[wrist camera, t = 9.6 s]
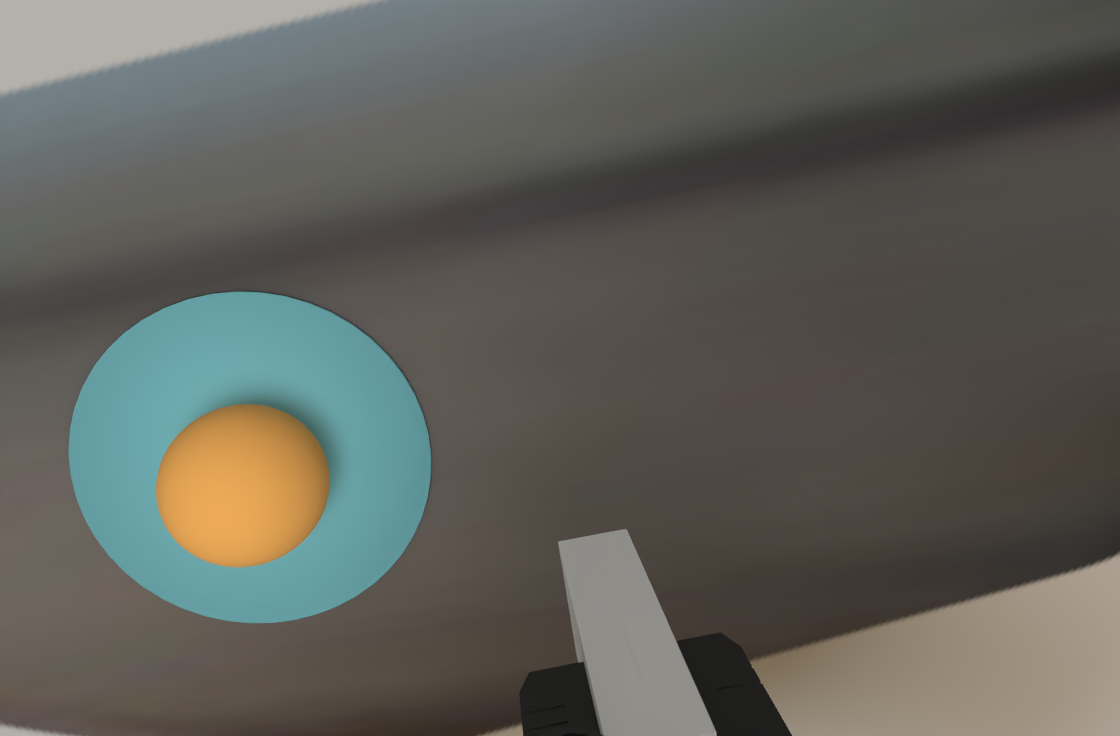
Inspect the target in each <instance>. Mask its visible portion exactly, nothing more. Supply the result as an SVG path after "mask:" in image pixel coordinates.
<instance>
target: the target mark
mask: <svg viewBox="0 0 1120 736" xmlns="http://www.w3.org/2000/svg"><path fill="white" fill-rule="evenodd" d="M238 404H255V405H264V406H269V407H272V408H275V409H278V410H281V411H284V412H285V413H287V414H289V415H291V416H293V417H294V418H296V419H297V420H299V421H300V422H301V423H303V424H304V425H305V426H306V427H307V428H308V429H309V430H310V431H311V432H312V433H313V435H314V436H315V437H316V439H317V440H318V442H319V443H320V445H321V447H322V449H323V451H324V454H325V456H326V459H327V463H328V468H329V476H330V488H329V495H328V499H327V504H326V507H325V509H324V512H323V514H322V516H321V518H320V520H319V522H318V523H317V525H316V527H315V528H314V530H313V531H312V532H311V533H310V534H309V536H308V537H307V538H306V539H305V540H304V541H303V542H302V543H301V544H300V545H298V546H297V547H296V548H295V549H293V550H292V551H290V552H289V553H287V554H286V555H284V556H282V557H280V558H278V559H276V560H273V561H270V562H268V563H265V564H261V565H256V566H250V567H226V566H221V565H216V564H212V563H209V562H207V561H204V560H202V559H200V558H197V557H196V556H194V555H192V554H191V553H189V552H188V551H186V550H185V549H184V548H183V547H182V546H180V545H179V544H178V543H177V542H176V541H175V539H174V538H173V537H172V536H171V534H170V533H169V532H168V530H167V528H166V527H165V525H164V523H163V520H162V518H161V516H160V513H159V510H158V506H157V500H156V481H157V475H158V471H159V467H160V464H161V461H162V459H163V457H164V455H165V453H166V451H167V449H168V447H169V446H170V444H171V443H172V442H173V440H174V439H175V438H176V436H177V435H178V434H179V433H180V432H181V431H182V430H183V429H184V428H185V427H186V426H188V425H189V424H190V423H192V422H193V421H194V420H196V419H197V418H199V417H201V416H203V415H205V414H207V413H209V412H211V411H213V410H216V409H219V408H222V407H227V406H232V405H238ZM69 462H70V473H71V478H72V483H73V487H74V491H75V495H76V498H77V501H78V503H79V506H80V508H81V511H82V513H83V516H84V518H85V520H86V522H87V524H88V525H89V527H90V529H91V531H92V533H93V534H94V536H95V538H96V539H97V540H98V542H99V543H100V544H101V546H102V547H103V548H104V550H105V551H106V552H107V554H108V555H109V556H110V557H111V558H112V559H113V560H114V561H115V562H116V564H117V565H118V566H119V567H120V568H121V569H122V570H123V571H124V572H125V573H127V574H128V575H129V576H130V577H132V578H133V579H134V580H135V581H136V582H138V583H139V584H140V585H141V586H143V587H144V588H146V589H147V590H149V591H151V592H152V593H154V594H155V595H157V596H159V597H160V598H162V599H164V600H166V601H168V602H170V603H172V604H174V605H177V606H179V607H181V608H183V609H186V610H189V611H192V612H195V613H198V614H200V615H203V616H207V617H212V618H217V619H221V620H226V621H234V622H244V623H274V622H282V621H290V620H296V619H300V618H304V617H308V616H312V615H316V614H318V613H321V612H324V611H326V610H329V609H332V608H334V607H337V606H339V605H340V604H342V603H344V602H346V601H348V600H350V599H352V598H354V597H356V596H357V595H358V594H360V593H361V592H363V591H364V590H366V589H367V588H368V587H370V586H371V585H373V584H374V583H375V582H376V581H377V580H378V579H379V578H380V577H381V576H383V575H384V574H385V573H386V572H387V571H388V570H389V569H390V568H391V567H392V565H393V564H394V563H395V562H396V561H397V559H398V558H399V557H400V556H401V555H402V553H403V552H404V550H405V548H406V547H407V545H408V544H409V542H410V541H411V539H412V537H413V536H414V533H415V531H416V529H417V527H418V525H419V522H420V520H421V518H422V515H423V512H424V508H425V505H426V502H427V498H428V492H429V485H430V479H431V449H430V441H429V434H428V430H427V426H426V423H425V419H424V415H423V412H422V410H421V407H420V405H419V403H418V400H417V398H416V395H415V393H414V391H413V390H412V388H411V386H410V384H409V383H408V381H407V379H406V378H405V376H404V374H403V373H402V371H401V370H400V369H399V368H398V366H397V365H396V364H395V363H394V361H393V360H392V359H391V357H390V356H389V355H388V354H387V353H386V352H385V351H384V350H383V349H382V348H381V347H380V346H379V345H378V344H377V343H376V342H375V341H374V340H373V339H372V338H370V337H369V336H368V335H366V334H365V333H364V332H363V331H361V330H360V329H359V328H357V327H356V326H355V325H353V324H352V323H350V322H348V321H346V320H345V319H343V318H341V317H340V316H338V315H336V314H334V313H333V312H331V311H328V310H326V309H324V308H321V307H319V306H316V305H314V304H312V303H309V302H306V301H302V300H299V299H295V298H292V297H288V296H284V295H278V294H271V293H265V292H245V291H234V292H224V293H213V294H208V295H204V296H200V297H195V298H191V299H187V300H185V301H182V302H179V303H176V304H174V305H171V306H168V307H166V308H163V309H162V310H160V311H158V312H156V313H154V314H152V315H150V316H148V317H147V318H145V319H143V320H141V321H140V322H139V323H137V324H136V325H135V326H133V327H132V328H130V329H129V330H128V331H126V332H125V333H124V334H123V335H122V336H121V337H120V338H118V339H117V340H116V341H115V342H114V343H113V344H112V345H111V346H110V347H109V348H108V349H107V350H106V352H105V353H104V354H103V356H102V357H101V358H100V360H99V361H98V362H97V363H96V365H95V366H94V367H93V369H92V371H91V373H90V374H89V376H88V378H87V380H86V382H85V384H84V385H83V387H82V389H81V392H80V395H79V398H78V400H77V403H76V406H75V408H74V413H73V418H72V423H71V428H70V437H69Z"/></svg>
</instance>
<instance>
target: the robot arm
mask: <svg viewBox="0 0 1120 736" xmlns="http://www.w3.org/2000/svg"><path fill="white" fill-rule="evenodd" d="M558 545H559V551H560V557H561V563H562V569H563V575H564V581H565V587H566V593H567V600H568V606H569V612H570V618H571V624H572V630H573V636H574V642H575V648H576V654H577V658H578V663H574V664H569V665H564V666H559V667H554V668H549V669H544V670H539V671H534V672H529V674H528V676H527V678H526V680H525V682H524V684H523V686H522V688H521V690H520V692H519V693H520V705H521V714H522V727H523V736H792V735H791V733H790V731H789V730H788V728H787V726H786V724H785V723H784V721H783V719H782V718H781V716H780V714H779V712H778V711H777V709H776V707H775V705H774V704H773V702H772V700H771V698H770V697H769V695H768V693H767V691H766V690H765V688H764V686H763V684H761V683H760V679H759V677H758V676H757V674H756V672H755V671H754V669H752V666H751V664H750V662H749V660H748V658H747V657H746V655H745V653H744V651H743V650H742V648H741V646H739V645H738V644H736V643H735V642H733V641H732V640H730V639H729V638H728V637H726V636H725V635H723V634H722V633H715V634H710V635H705V636H700V637H695V638H690V639H685V640H680V641H676V640H675V638H674V635H673V633H672V631H671V629H670V626H669V624H668V622H667V620H666V617H665V615H664V613H663V610H662V608H661V606H660V604H659V601H658V599H657V597H656V595H655V592H654V590H653V588H652V586H651V583H650V581H649V579H648V577H647V574H646V572H645V570H644V568H643V565H642V563H641V561H640V558H639V556H638V554H637V552H636V549H635V547H634V545H633V543H632V540H631V538H630V536H629V534H628V531H627V529H623V530H617V531H612V532H607V533H601V534H596V535H591V536H585V537H580V538H575V539H569V540H564V541H559V542H558Z"/></svg>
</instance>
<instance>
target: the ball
mask: <svg viewBox="0 0 1120 736" xmlns="http://www.w3.org/2000/svg"><path fill="white" fill-rule="evenodd" d="M329 488H330V476H329V468H328V463H327V459H326V456H325V454H324V451H323V449H322V447H321V445H320V443H319V442H318V440H317V439H316V437H315V436H314V435H313V433H312V432H311V431H310V430H309V429H308V428H307V427H306V426H305V425H304V424H303V423H301V422H300V421H299V420H297V419H296V418H294V417H293V416H291V415H289V414H287V413H285V412H284V411H281V410H278V409H275V408H272V407H269V406H264V405H255V404H238V405H232V406H227V407H222V408H219V409H216V410H213V411H211V412H209V413H207V414H205V415H203V416H201V417H199V418H197V419H196V420H194V421H193V422H192V423H190V424H189V425H188V426H186V427H185V428H184V429H183V430H182V431H181V432H180V433H179V434H178V435H177V436H176V438H175V439H174V440H173V442H172V443H171V444H170V446H169V447H168V449H167V451H166V453H165V455H164V457H163V459H162V461H161V464H160V467H159V471H158V475H157V481H156V500H157V506H158V510H159V513H160V516H161V518H162V520H163V523H164V525H165V527H166V528H167V530H168V532H169V533H170V534H171V536H172V537H173V538H174V539H175V541H176V542H177V543H178V544H179V545H180V546H182V547H183V548H184V549H185V550H186V551H188V552H189V553H191V554H192V555H194V556H196V557H197V558H200V559H202V560H204V561H207V562H209V563H212V564H216V565H221V566H226V567H250V566H256V565H261V564H265V563H268V562H270V561H273V560H276V559H278V558H280V557H282V556H284V555H286V554H287V553H289V552H290V551H292V550H293V549H295V548H296V547H297V546H298V545H300V544H301V543H302V542H303V541H304V540H305V539H306V538H307V537H308V536H309V534H310V533H311V532H312V531H313V530H314V528H315V527H316V525H317V523H318V522H319V520H320V518H321V516H322V514H323V512H324V509H325V507H326V504H327V499H328V495H329Z"/></svg>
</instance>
